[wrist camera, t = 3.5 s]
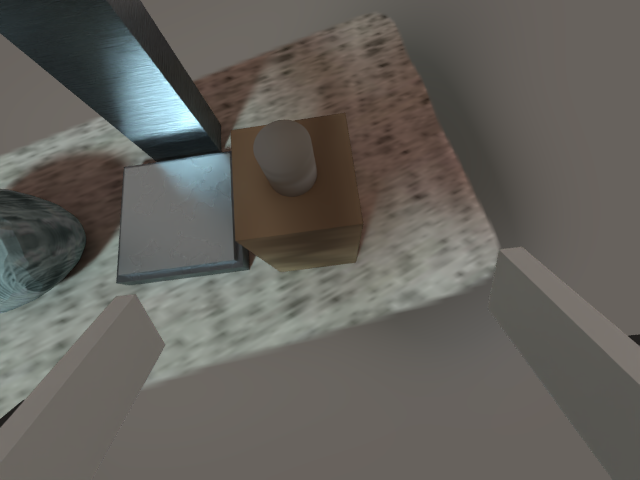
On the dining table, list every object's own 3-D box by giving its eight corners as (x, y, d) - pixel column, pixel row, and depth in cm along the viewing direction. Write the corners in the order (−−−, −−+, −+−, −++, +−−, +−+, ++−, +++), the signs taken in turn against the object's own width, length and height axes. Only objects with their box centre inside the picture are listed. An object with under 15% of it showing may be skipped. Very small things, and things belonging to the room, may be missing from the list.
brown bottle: (280, 272, 23) (211, 224, 11) (274, 202, 25) (209, 95, 13) (355, 262, 23) (367, 203, 11) (345, 192, 25) (345, 73, 13)
